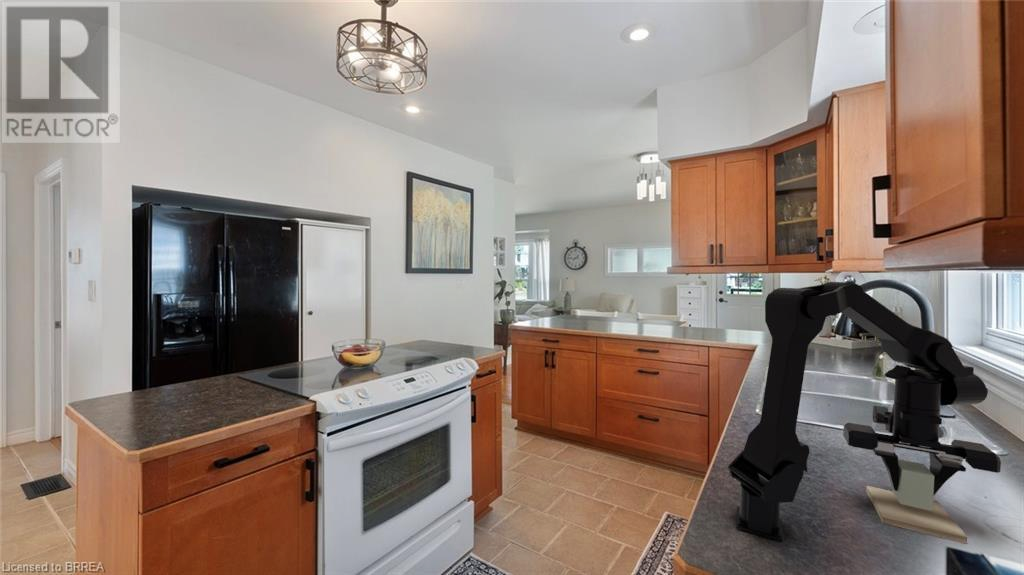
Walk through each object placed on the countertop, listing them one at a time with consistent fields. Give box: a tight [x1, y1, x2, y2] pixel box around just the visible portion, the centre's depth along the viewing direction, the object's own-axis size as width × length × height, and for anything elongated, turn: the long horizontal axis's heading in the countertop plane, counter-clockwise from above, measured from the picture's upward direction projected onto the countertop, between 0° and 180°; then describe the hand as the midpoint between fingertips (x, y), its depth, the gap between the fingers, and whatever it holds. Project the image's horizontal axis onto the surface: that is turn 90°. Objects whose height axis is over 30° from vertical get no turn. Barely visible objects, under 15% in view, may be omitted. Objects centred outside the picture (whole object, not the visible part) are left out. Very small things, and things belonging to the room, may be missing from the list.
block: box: [891, 458, 934, 511], centre depth 71 cm, size 5×4×6 cm
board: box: [865, 485, 969, 544], centre depth 71 cm, size 12×10×1 cm
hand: (911, 493), depth 71 cm, fingers closed on block, 4 cm apart
